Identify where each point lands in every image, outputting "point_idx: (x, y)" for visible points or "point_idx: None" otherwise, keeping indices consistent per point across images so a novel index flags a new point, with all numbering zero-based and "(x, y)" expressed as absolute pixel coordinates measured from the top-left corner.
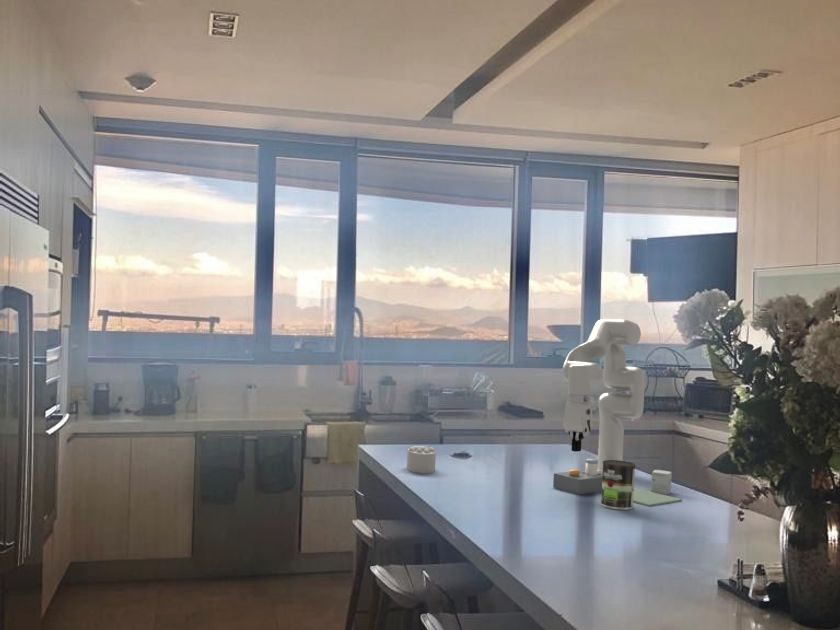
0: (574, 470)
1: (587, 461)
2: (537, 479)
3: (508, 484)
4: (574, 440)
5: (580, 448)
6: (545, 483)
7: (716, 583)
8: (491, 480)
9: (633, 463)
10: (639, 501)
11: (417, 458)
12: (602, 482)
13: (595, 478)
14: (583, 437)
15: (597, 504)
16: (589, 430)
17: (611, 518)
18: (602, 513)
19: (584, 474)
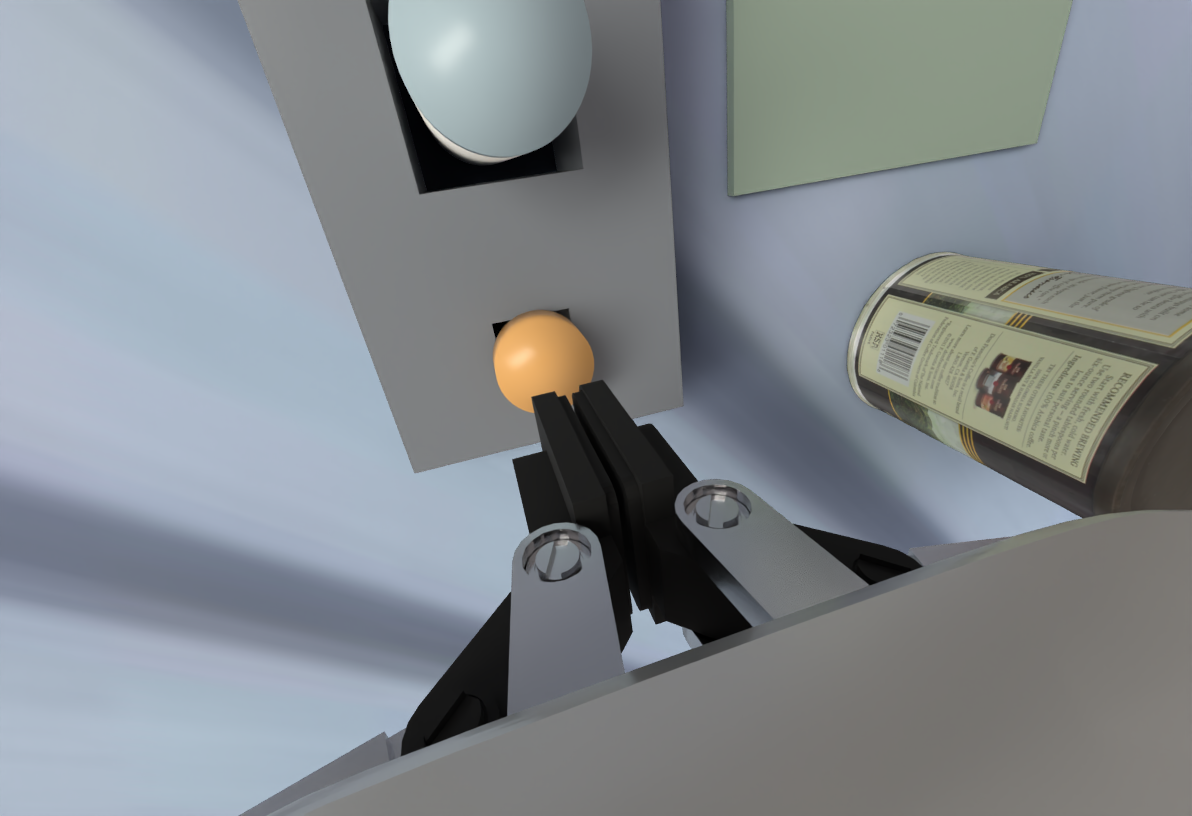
0: (556, 377)
1: (506, 156)
2: (55, 379)
3: (290, 636)
4: (663, 619)
5: (648, 431)
6: (258, 399)
7: None
8: (145, 692)
9: None
10: (972, 138)
11: None
12: (971, 457)
13: (670, 214)
14: (823, 544)
15: (845, 407)
16: (1126, 536)
17: (991, 485)
18: (938, 477)
19: (510, 209)
